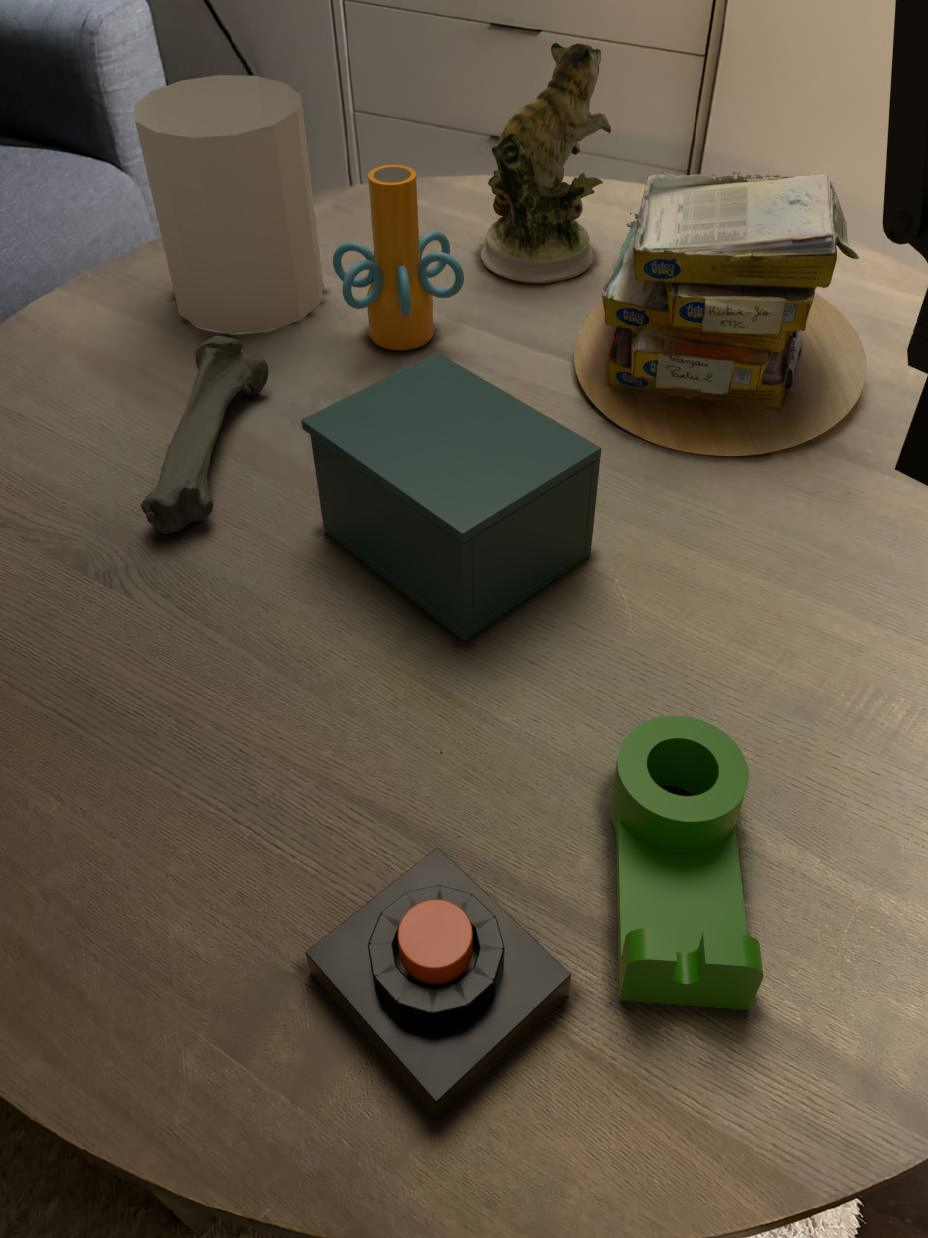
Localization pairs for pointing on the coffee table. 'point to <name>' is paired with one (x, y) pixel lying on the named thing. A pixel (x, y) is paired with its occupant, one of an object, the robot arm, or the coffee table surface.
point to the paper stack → (725, 317)
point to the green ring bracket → (681, 868)
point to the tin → (458, 543)
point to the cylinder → (397, 264)
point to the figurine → (545, 177)
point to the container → (233, 200)
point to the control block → (443, 1013)
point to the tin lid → (451, 444)
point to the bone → (201, 433)
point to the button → (435, 941)
